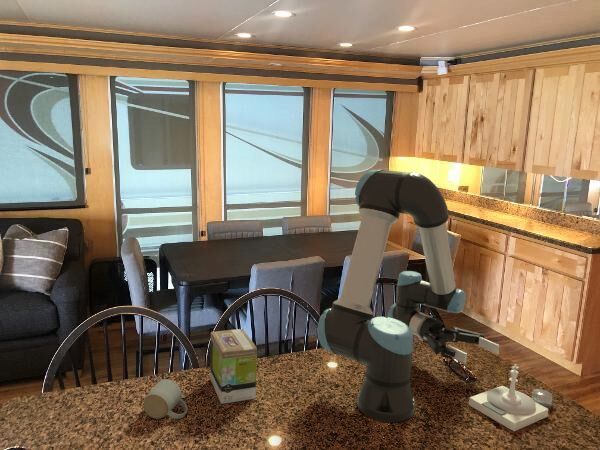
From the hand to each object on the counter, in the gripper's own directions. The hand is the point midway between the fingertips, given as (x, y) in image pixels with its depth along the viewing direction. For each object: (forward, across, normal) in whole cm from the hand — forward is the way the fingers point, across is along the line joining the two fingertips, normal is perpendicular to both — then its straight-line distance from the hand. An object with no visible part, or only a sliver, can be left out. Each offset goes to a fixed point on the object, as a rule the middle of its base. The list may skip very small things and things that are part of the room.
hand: (482, 354), depth 141 cm
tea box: (-34, +61, -13) cm, 71 cm away
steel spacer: (+12, -11, -12) cm, 20 cm away
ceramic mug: (-31, +80, -13) cm, 87 cm away
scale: (+10, +1, -12) cm, 16 cm away
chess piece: (+10, 0, -9) cm, 14 cm away
